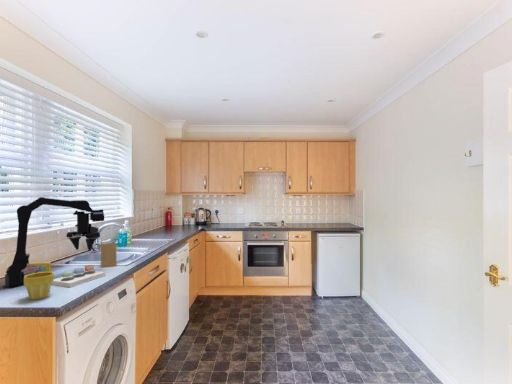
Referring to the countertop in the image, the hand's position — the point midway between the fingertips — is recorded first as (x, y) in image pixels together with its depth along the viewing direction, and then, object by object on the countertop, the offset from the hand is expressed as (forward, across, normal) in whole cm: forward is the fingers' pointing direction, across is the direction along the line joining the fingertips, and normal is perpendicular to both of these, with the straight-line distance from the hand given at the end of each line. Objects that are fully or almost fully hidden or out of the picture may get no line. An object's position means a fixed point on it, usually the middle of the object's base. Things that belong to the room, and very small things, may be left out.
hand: (83, 250), depth 154 cm
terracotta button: (+10, -7, +2) cm, 12 cm away
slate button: (+10, -7, +8) cm, 15 cm away
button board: (+14, -7, +8) cm, 17 cm away
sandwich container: (+14, +4, -21) cm, 26 cm away
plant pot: (+14, -12, +32) cm, 36 cm away
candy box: (+14, +21, +12) cm, 28 cm away
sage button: (+10, -7, +14) cm, 19 cm away
